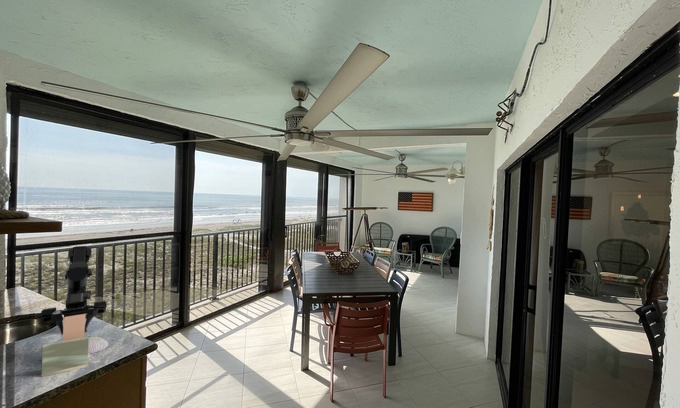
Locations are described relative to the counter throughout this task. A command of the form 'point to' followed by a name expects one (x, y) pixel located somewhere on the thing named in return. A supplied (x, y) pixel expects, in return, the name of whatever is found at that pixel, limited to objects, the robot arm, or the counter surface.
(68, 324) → the salmon pink block
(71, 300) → the robot arm
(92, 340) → the seashell
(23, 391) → the counter surface
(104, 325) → the counter surface
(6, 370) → the counter surface
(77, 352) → the pale green box
